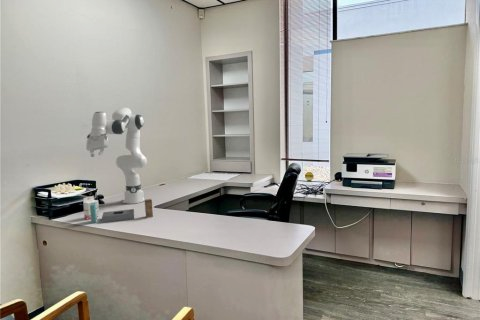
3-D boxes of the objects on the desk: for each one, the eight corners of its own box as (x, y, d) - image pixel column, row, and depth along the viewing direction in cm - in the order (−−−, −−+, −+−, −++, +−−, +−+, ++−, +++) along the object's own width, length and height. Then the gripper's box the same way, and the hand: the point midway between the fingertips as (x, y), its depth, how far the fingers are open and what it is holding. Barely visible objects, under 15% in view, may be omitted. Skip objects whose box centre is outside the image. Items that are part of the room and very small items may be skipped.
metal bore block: (104, 217, 227) (103, 212, 227) (134, 214, 233) (133, 209, 233) (102, 222, 216) (101, 216, 215) (134, 219, 222) (133, 213, 221)
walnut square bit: (145, 216, 228) (144, 199, 226) (151, 215, 229) (150, 198, 228) (147, 217, 224) (145, 200, 223) (152, 216, 226) (151, 199, 224)
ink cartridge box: (88, 219, 224) (87, 198, 222) (84, 218, 226) (82, 198, 225) (99, 216, 231) (98, 196, 229) (95, 215, 234) (93, 195, 232)
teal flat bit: (92, 220, 222) (91, 203, 221) (96, 220, 223) (95, 202, 221) (91, 223, 215) (89, 205, 214) (95, 222, 216) (94, 205, 215)
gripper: (111, 133, 212) (110, 154, 209) (94, 138, 224) (92, 158, 221) (102, 131, 207) (100, 153, 204) (85, 136, 219) (83, 156, 216)
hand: (96, 155), depth 213 cm, fingers open, 8 cm apart
